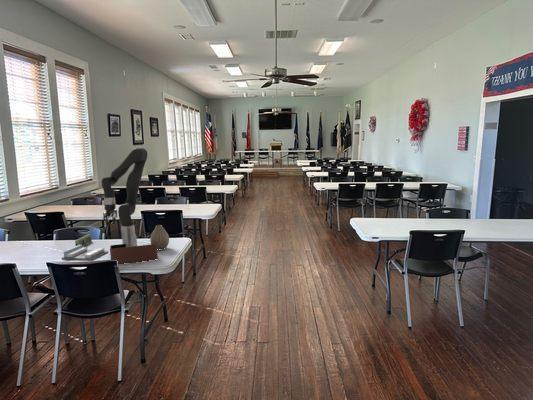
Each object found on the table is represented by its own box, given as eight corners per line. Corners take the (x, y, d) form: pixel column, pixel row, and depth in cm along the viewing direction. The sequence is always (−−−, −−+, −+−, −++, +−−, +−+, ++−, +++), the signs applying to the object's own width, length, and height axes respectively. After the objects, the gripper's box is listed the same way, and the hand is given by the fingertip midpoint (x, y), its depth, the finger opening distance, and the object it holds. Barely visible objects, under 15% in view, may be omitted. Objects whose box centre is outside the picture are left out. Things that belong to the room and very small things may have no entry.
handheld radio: (92, 242, 286) (75, 251, 261) (88, 242, 286) (71, 251, 261) (91, 233, 285) (74, 242, 260) (87, 234, 285) (69, 242, 260)
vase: (158, 252, 253) (156, 228, 250) (147, 249, 261) (145, 226, 258) (173, 248, 263) (171, 225, 261) (162, 245, 271) (160, 223, 269)
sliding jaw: (87, 250, 257) (86, 245, 257) (72, 257, 242) (71, 251, 241) (79, 250, 258) (79, 244, 258) (64, 257, 243) (63, 251, 242)
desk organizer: (111, 261, 236) (109, 245, 235) (157, 256, 247) (156, 240, 245) (110, 266, 227) (108, 249, 225) (158, 260, 237) (157, 244, 235)
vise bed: (108, 252, 256) (107, 247, 255) (92, 260, 238) (91, 255, 238) (79, 251, 260) (79, 246, 259) (61, 259, 242) (61, 254, 242)
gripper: (108, 205, 257) (110, 227, 259) (119, 202, 270) (120, 223, 273) (99, 204, 258) (100, 226, 260) (110, 201, 272) (111, 222, 274)
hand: (110, 224), depth 267 cm, fingers open, 8 cm apart
